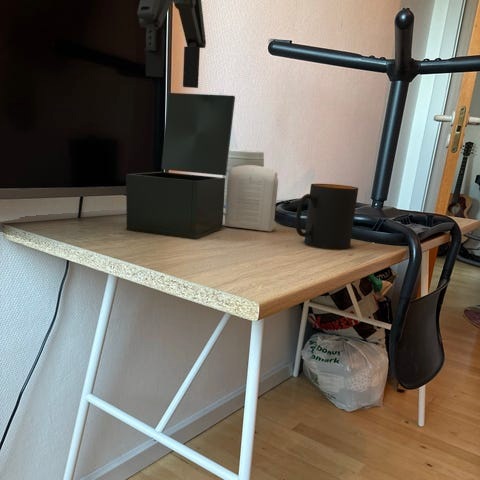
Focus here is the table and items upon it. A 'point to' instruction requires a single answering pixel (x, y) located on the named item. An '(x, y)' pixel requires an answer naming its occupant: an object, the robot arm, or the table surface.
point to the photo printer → (251, 197)
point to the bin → (174, 204)
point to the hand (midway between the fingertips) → (173, 82)
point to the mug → (328, 216)
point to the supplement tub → (241, 163)
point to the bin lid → (198, 133)
